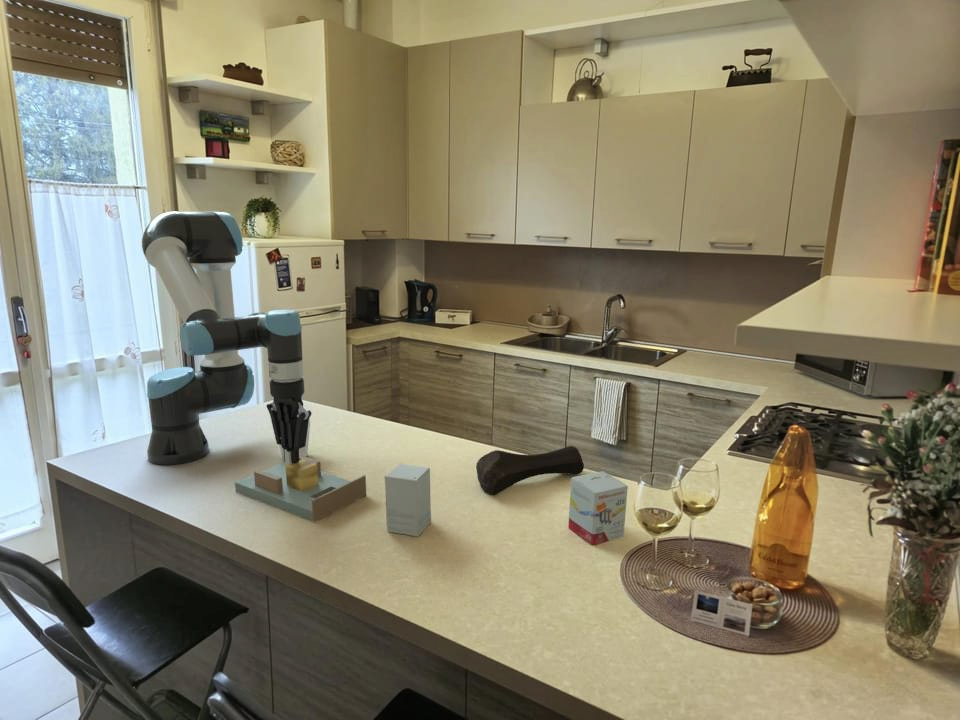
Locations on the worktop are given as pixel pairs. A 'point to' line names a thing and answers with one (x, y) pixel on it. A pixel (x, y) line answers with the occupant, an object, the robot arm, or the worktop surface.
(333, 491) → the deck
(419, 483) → the supplement box
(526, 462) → the dark brown bone
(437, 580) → the worktop surface
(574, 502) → the ink box
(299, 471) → the ochre block
